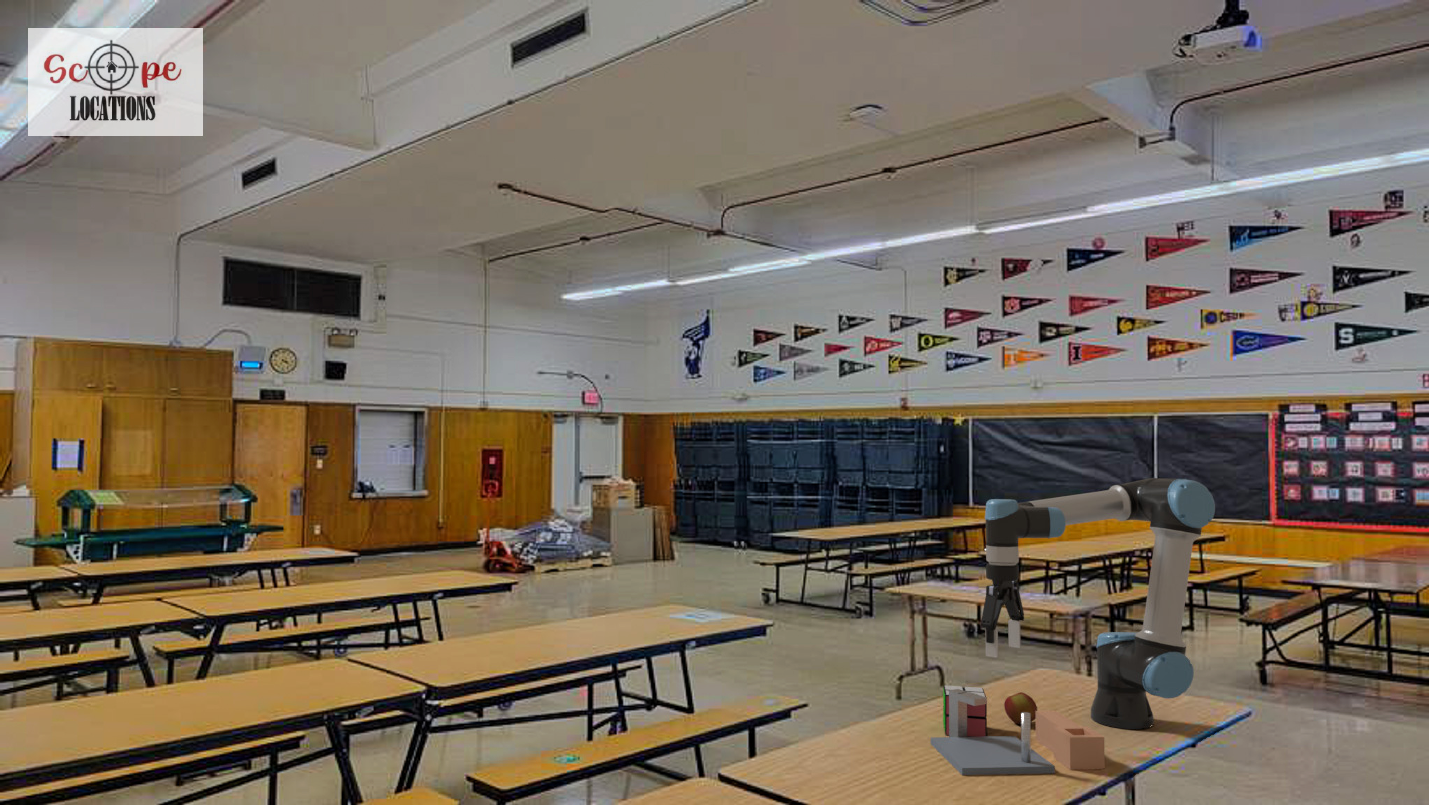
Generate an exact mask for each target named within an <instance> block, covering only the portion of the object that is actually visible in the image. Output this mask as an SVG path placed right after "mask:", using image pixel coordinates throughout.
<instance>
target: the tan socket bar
mask: <svg viewBox="0 0 1429 805" xmlns="http://www.w3.org/2000/svg"><path fill="white" fill-rule="evenodd" d="M1035 740H1036V742H1038V744H1041V745H1042V746H1043V747H1045V748H1046V749H1048V751H1050V752H1052V753H1053V758H1054V759H1055V760H1056V761H1058V762H1059V763H1060V764H1061V765H1063V766H1064V767H1066V768H1067V769H1069V770H1073V771H1074V770H1077V771H1078V770H1104V769H1103V768H1106V767H1105V764H1106V763H1105V736H1104V735H1101V734H1100V733H1098V732H1097V731H1095V730H1093V728H1090V727H1088V726H1087V725H1084V726H1082V725H1079V724H1077V723H1076V722H1074V721H1073V720H1071V719H1070V718H1068V717H1066V716H1064V715H1062V714H1061V713H1059V712H1058V711H1056V710H1037V711H1036V719H1035Z"/></svg>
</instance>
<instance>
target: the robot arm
mask: <svg viewBox="0 0 1429 805" xmlns="http://www.w3.org/2000/svg"><path fill="white" fill-rule="evenodd" d="M1215 512H1216V504H1215V500H1214V497H1213V494H1212V493H1211V491H1209V489H1208V488H1207V486H1205V485H1204V484H1202V483H1201V482H1199V481H1196V480H1191V479H1186V478H1160V477H1154V478H1153V477H1151V478H1146V479H1140V480H1136V481H1131V482H1126V483H1121V484H1115V485H1112V486H1110V488H1108V489H1106V490H1102V491H1101V490H1098V491H1091V492H1086V493H1079V494H1071V495H1066V496H1059V497H1052V498H1051V497H1050V498H1044V499H1037V500H1030V501H1024V502H1018V501H1017V500H1016V499H1010V498H1009V499H1005V498H1003V499H1002V498H1001V499H999V498H994V499H992V498H991V499H989V500H987V501H986V503H985V512H984V520H985V548H984V552H985V554H986V555H985V557H986V558H985V559H986V562H988V563H986V565H985V568H986V570H985V572H986V573H985V576H986V579H988V580H989V581H990V580H991V581H992V584H991V585H986V587H985V590H986V591H985V600H984V603H983V611H982V615H981V620H980V628H981V629H984V631H985V632H984V633H985V634H984V635H985V637H984V638H985V657H990V658H996V659H998V658H999V641H998V640H999V634H998V632H999V629H997V625H998V622H999V618H1000V614H1001V611H1002V608H1003V607H1004V606H1005V609H1006V611H1007V614H1008V617H1009V619H1008V621H1007V622H1008V628H1007V629H1008V647H1009V648H1016V649H1021V621H1025V612H1024V608H1023V604H1022V598H1021V594H1020V590H1019V589H1020V588H1019V581H1018V580H1019V579H1020V578H1019V577H1020V575H1019V573H1020V572H1019V571H1020V570H1019V567H1020V566H1019V565H1018V564H1017V563H1019V562H1020V561H1019V560H1020V557H1019V556H1020V554H1019V553H1020V552H1019V539H1051V538H1060V537H1061V536H1062V535H1063V534H1064V533H1065V531H1066V526H1071V525H1077V524H1084V523H1092V522H1099V521H1107V520H1111V519H1116V521H1119V522H1125V521H1143V522H1149V523H1150V524H1149V529H1150V530H1151V531H1152V533H1153V534H1154V544H1153V550H1152V558H1151V567H1150V573H1149V581H1148V588H1147V596H1146V603H1145V610H1144V618H1143V623H1142V630H1140V631H1138V632H1132V631H1131V632H1127V631H1126V632H1124V631H1123V632H1122V631H1114V632H1113V631H1111V632H1110V631H1109V632H1107V631H1106V632H1102V633H1100V634H1098V636H1097V640H1096V647H1095V648H1096V661H1097V662H1096V664H1097V665H1096V668H1097V673H1096V675H1097V677H1096V678H1097V688H1096V693H1095V695H1094V697H1093V702H1092V704H1091V707H1090V718H1091V720H1093V721H1094V722H1096V723H1098V724H1100V725H1104V726H1108V727H1113V728H1116V729H1117V728H1118V729H1124V730H1125V729H1126V730H1143V729H1142V728H1146V729H1149V728H1148V727H1150V726H1151V725H1153V723H1154V724H1155V722H1154V720H1155V719H1154V713H1153V711H1152V708H1151V705H1150V703H1149V699H1148V697H1147V693H1148V694H1150V695H1152V696H1154V697H1160V698H1163V699H1175V698H1178V697H1180V696H1181V695H1182V694H1183V693H1186V692H1187V691H1188V689H1189V688H1190V686H1191V685H1192V683H1193V679H1194V675H1195V674H1194V667H1193V664H1192V663H1191V660H1190V658H1188V657H1187V655H1186V653H1187V652H1186V651H1187V644H1186V643H1185V642H1184V641H1183V639H1182V637H1181V635H1182V628H1183V622H1184V620H1183V619H1184V612H1185V604H1186V597H1187V590H1188V584H1189V583H1188V582H1189V576H1190V575H1189V574H1190V568H1191V561H1192V552H1193V546H1194V542H1195V541H1196V540H1197V539H1199V538H1201V536H1202V529H1203V528H1204V527H1205V526H1206V527H1207V525H1209V522H1212V520H1213V519H1214V517H1215ZM1153 726H1154V725H1153ZM1150 728H1151V727H1150Z"/></svg>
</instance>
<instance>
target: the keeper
mask: <svg viewBox="0 0 1429 805" xmlns="http://www.w3.org/2000/svg"><path fill="white" fill-rule="evenodd" d="M967 704H970V705H973V706H978V705H984V704H987V705H988V697H987V696H986V697H984V696H981V695H978V694H975V693H971V692H966V691H963V690H960V689H954V690H949V736H948V737H967Z"/></svg>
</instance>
